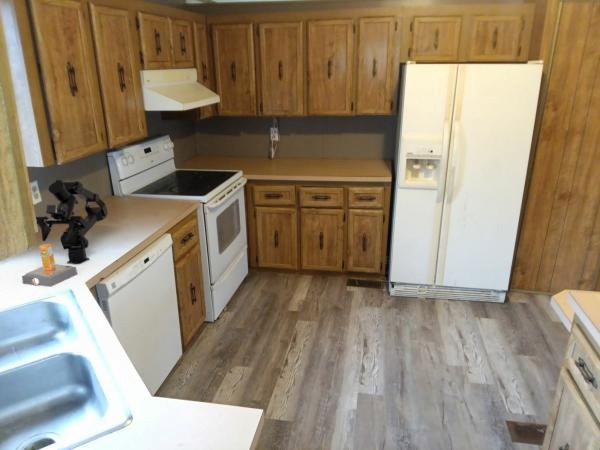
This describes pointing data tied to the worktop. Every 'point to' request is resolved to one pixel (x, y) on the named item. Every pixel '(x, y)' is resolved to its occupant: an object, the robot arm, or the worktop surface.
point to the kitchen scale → (49, 281)
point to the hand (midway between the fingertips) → (54, 240)
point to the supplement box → (47, 257)
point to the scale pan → (48, 274)
